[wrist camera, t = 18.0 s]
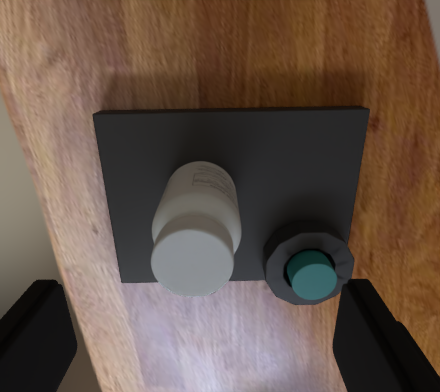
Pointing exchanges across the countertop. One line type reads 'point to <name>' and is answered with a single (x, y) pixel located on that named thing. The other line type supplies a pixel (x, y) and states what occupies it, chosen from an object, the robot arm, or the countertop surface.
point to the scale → (240, 182)
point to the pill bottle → (196, 231)
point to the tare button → (311, 275)
